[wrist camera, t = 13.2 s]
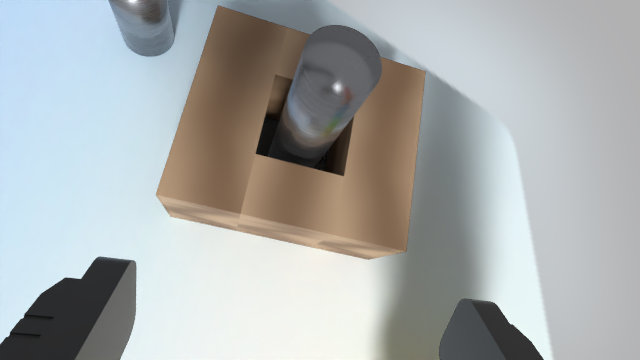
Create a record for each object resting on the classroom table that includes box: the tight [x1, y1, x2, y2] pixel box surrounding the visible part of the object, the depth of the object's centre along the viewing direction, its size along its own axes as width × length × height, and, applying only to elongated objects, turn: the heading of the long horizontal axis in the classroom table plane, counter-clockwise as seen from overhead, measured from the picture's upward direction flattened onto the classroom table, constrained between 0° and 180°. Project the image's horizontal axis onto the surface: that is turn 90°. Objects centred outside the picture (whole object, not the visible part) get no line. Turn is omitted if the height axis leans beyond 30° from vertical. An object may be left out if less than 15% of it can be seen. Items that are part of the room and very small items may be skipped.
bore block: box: [156, 6, 426, 260], centre depth 29 cm, size 16×14×7 cm
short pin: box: [109, 0, 174, 56], centre depth 29 cm, size 4×4×7 cm
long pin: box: [268, 25, 382, 169], centre depth 26 cm, size 4×4×15 cm
